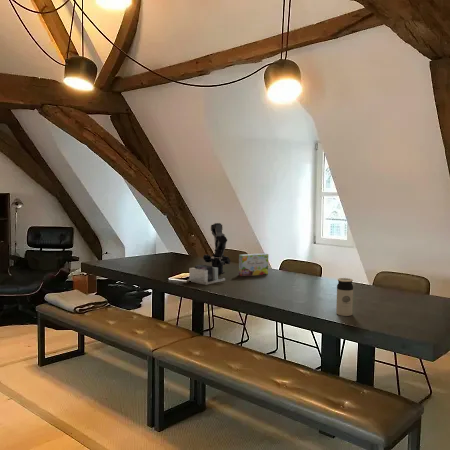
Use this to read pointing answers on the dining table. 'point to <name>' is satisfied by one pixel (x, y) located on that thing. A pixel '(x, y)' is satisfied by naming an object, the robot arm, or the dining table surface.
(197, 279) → the vise
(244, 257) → the snack box
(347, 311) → the travel mug
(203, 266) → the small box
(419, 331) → the dining table surface
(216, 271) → the free jaw
